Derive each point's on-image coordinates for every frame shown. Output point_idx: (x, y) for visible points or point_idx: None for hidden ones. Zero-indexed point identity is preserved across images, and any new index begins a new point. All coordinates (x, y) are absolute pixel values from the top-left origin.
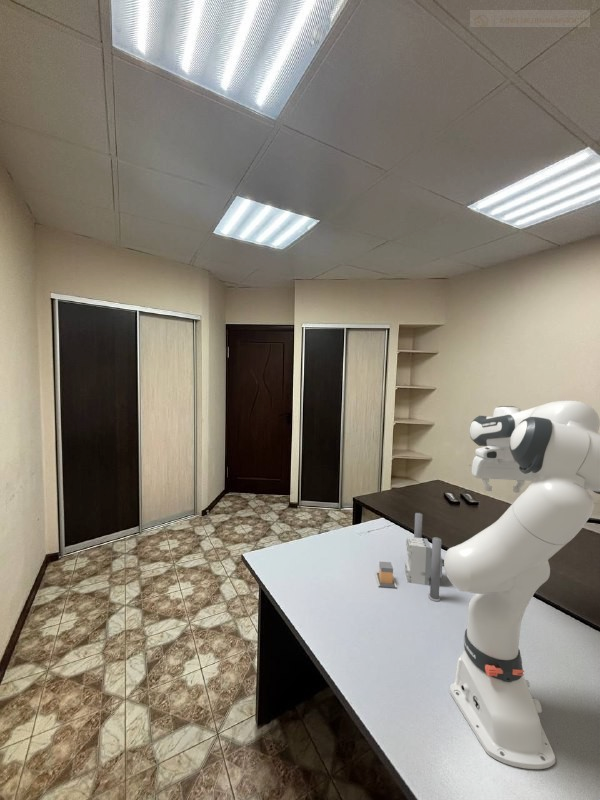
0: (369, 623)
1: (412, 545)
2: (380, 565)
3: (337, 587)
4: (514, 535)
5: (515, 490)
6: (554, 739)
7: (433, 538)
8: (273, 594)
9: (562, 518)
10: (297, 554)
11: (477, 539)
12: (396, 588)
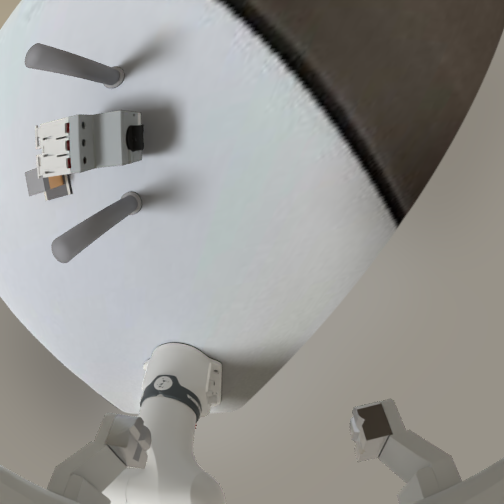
0: (54, 288)
1: (43, 177)
2: (27, 185)
3: (6, 221)
4: None
5: (355, 435)
6: (228, 389)
7: (53, 248)
8: None
9: None
10: None
11: None
12: (71, 193)
